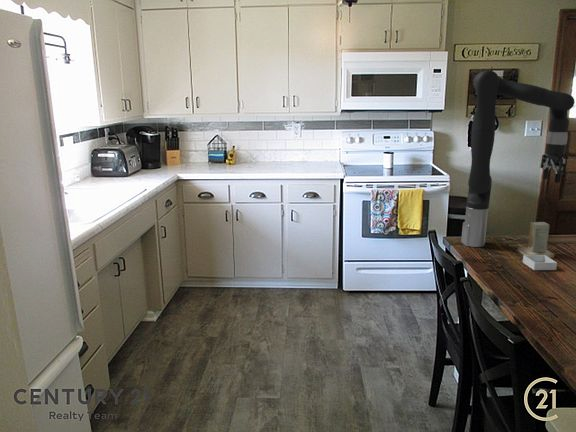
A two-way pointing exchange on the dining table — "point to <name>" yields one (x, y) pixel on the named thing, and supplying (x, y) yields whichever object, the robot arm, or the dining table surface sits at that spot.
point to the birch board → (527, 252)
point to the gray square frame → (539, 262)
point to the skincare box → (538, 236)
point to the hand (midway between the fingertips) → (550, 180)
